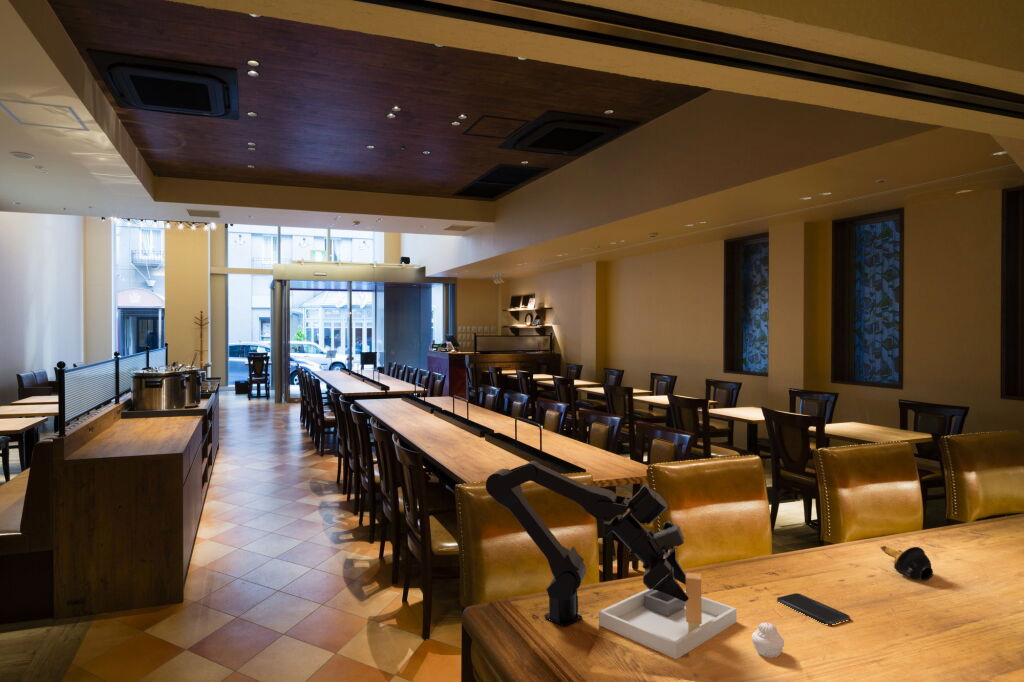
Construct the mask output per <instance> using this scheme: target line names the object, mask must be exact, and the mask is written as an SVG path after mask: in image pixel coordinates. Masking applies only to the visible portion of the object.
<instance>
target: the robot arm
mask: <svg viewBox="0 0 1024 682" xmlns="http://www.w3.org/2000/svg"><path fill="white" fill-rule="evenodd" d="M528 482H533V483H535V484H537V485H539V486H542V487H544V488H546V489H547V490H550V491H552V492H554V493H556V494H559V495H561V497H562V496H563V497H564V498H567V499H569V500H571V501H572V502H575V503H576V504H578V505H579V506H580V507H581V508H582V509H583V510H584V511H585V512H586V513H588V514H589V515H590V516H592V517H593V518H595V519H597V520H599V521H602V522H603V536H604V537H608V535H610V533H612V532H613V534H615V536H616V537H617V538H619V540H620V541H621V542H622V543H623V544H624V545H625V547H627V548H628V549H629V550H628V553H629V554H630V555H631V557H633V556H635V557H636V558H637V559H638V560H639V561H640V562H641V563H642V568H643V569H644V572H643V577H642V582H643V585H644V586H645V587H646V589H649V590H651V589H653V590H657V591H660V592H663V593H665V594H668V595H670V596H672V597H675V598H677V599H679V600H682V601H684V602H686V601H687V600H688V599H689V598H688V596H687V595H686V593H685V592H684V591H685V590H684V589H683V587H682V586H681V585H680V583H681V584H683V585H685V586H686V572H685V571H684V570H683V568H682V567H681V565H680V563H679V561H678V559H677V549H676V547H680V546H681V545H683V544H684V540H685V538H684V535H683V532H682V531H681V527H680V526H679V525H678V524H674V523H673V522H672V521H670V520H668V521H665V522H664V523H663V526H662V527H663V528H662V529H660V531H658V532H656V533H655V532H654V531H653V529H651V530H650V529H648V530H647V529H646V528H645V527H644V526H643V525H646V524H647V525H651V524H652V523H653V521H655V520H656V519H657V518H658V517H659V516H660V515H661V514H662V513H663V512H664V511H665V510H667V509H668V504H667V502H666V501H665V499H664V498H663V497H662V496H661V495H660V494H659V492H656V491H655V490H653V489H652V488H650V487H649V486H648V485H647V484H643V486H642V487H641V488H640V489H639V491H637V492H636V494H634V496H632V497H629V496H622V495H620V494H619V495H618V494H616V492H614V491H612V490H611V489H608V488H607V489H606V488H603V487H600V486H597V485H596V486H595V485H588V484H584V483H582V482H580V481H577V480H575V479H573V478H570V477H569V476H566V475H564V474H562V473H561V472H558V471H555V470H553V469H551V468H550V467H547V466H545V465H542V464H541V463H540V462H539V461H536V460H531V461H529V462H527V463H525V464H522V465H519V466H516V467H514V468H512V469H509V468H501V469H498V470H497V471H495V472H493V473H492V474H490V475H488V477H487V479H486V481H485V490H486V492H487V494H488V495H489V496H490V497H491V498H492V499H493V500H494V501H496V502H497V503H498V504H499V505H500V506H503V507H504V508H506V509H507V510H508V511H510V512H511V515H513V516H514V518H515V519H516V520H517V522H518V523H519V524H520V525H521V527H522V528H523V529H524V531H525V532H526V533H527V535H528V536H529V537H530V538H531V540H532V541H533V542H534V544H535V545H536V546H537V548H538V549H539V550H540V552H541V553H542V554H543V555H544V557H545V558H546V560H547V562H548V565H549V568H550V572H551V574H552V576H553V579H552V580H551V581H550V583H549V585H547V588H546V592H547V594H548V601H549V602H548V604H549V605H548V608H549V609H548V610H549V611H548V613H547V614H544V619H546V618H547V619H546V620H548V619H550V620H552V621H554V622H556V623H555V624H557V623H558V624H557V625H559V624H560V625H559V626H561V625H562V626H561V627H567V626H569V625H572V624H573V623H575V622H578V621H580V620H582V619H583V615H581V614H578V613H579V595H578V589H579V588H580V587H581V584H582V582H583V580H584V578H585V576H586V573H587V567H586V565H585V563H584V561H585V558H583V557H582V556H581V555H580V554H579V553H578V551H577V550H576V548H575V546H571V548H570V549H569V548H567V547H565V546H563V545H562V544H561V543H560V541H559V540H558V538H556V536H555V535H554V534H553V532H552V531H551V529H550V528H549V527H548V526H547V524H545V523H546V522H544V520H543V519H542V518H541V517H540V516H539V515H538V513H537V511H536V510H535V509H534V508H533V506H532V505H531V504H530V503H529V501H528V500H527V499H526V497H525V495H524V493H523V492H524V491H523V488H522V486H521V485H523V484H525V483H528ZM614 516H615V517H614ZM610 519H611V520H610ZM608 520H610V521H608ZM642 524H643V525H642ZM679 582H680V583H679ZM550 620H549V621H550ZM552 621H551V622H552ZM554 622H553V623H554ZM571 623H572V624H571ZM566 625H567V626H566Z"/></svg>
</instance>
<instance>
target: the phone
mask: <svg viewBox="0 0 1024 682" xmlns="http://www.w3.org/2000/svg"><path fill="white" fill-rule="evenodd" d="M777 601H778V602H780V603H782V604H784V605H786V606H788V607H790V608H792V609H794V610H793V611H795V610H796V611H795V612H797V611H798V612H797V613H799V612H801V613H803V614H805V615H807V616H809V617H811V618H813V619H815V620H817V621H816V622H818V621H819V622H818V623H820V622H821V623H820V624H822V623H824V624H828V625H832V624H836V623H839V622H843V621H846V620H850V621H851V616H850V615H849V614H847V613H844V612H842V611H840V610H838V609H835V608H833V607H832V606H829V605H826V604H824V603H823V602H820V601H817V600H815V599H813V598H811V597H809V596H806V595H803V594H801V593H791V594H785V595H783V596H779V597H777V598H776V602H777ZM778 602H777V603H778ZM780 603H779V604H780ZM782 604H781V605H782ZM784 605H783V606H784ZM786 606H785V607H786ZM788 607H787V608H788ZM790 608H789V609H790ZM792 609H791V610H792ZM801 613H800V614H801ZM803 614H802V615H803ZM805 615H804V616H805ZM807 616H806V617H807ZM809 617H808V618H809ZM811 618H810V619H811ZM813 619H812V620H813ZM815 620H814V621H815ZM824 624H823V625H824Z"/></svg>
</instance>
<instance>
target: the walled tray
mask: <svg viewBox="0 0 1024 682" xmlns="http://www.w3.org/2000/svg"><path fill="white" fill-rule="evenodd" d="M684 592H685V593H686V590H684ZM701 604H702V624H700V627H698V628H697V629H695V630H693V631H692V632H690V633H688V622H686V602H684V601H682V600H679V599H677V598H675V597H672V596H670V595H668V594H665V593H663V592H660V591H657V590H653V589H651V590H649V589H648V588H646V589H644V590H643V591H640V592H637V593H636V594H634V595H632V596H629V597H627V598H625V599H623V600H620V601H618V602H616V603H614V604H612V605H609V606H608V607H606V608H603V609H601V610H599V611H598V629H600V628H601V627H603V628H604V629H606V630H609V631H611V632H613V633H616V634H618V635H620V636H622V637H624V638H628V639H629V640H632V641H633V642H636V643H638V644H641V645H642V646H645V647H647V648H650V649H652V650H654V651H657V652H658V653H660V654H663V655H666V656H668V657H669V658H672V659H674V660H678V659H679V658H681V657H683V656H684V655H686V654H687V653H689V652H690V651H692V650H693V649H695V648H697V647H698V646H700V645H701V644H703V643H705V642H707V641H708V640H710V639H711V638H713V637H714V636H716V635H719V633H721V632H723V631H725V630H726V629H728V628H729V627H731V626H732V625H734V624H736V623H737V620H738V619H737V616H738V614H737V608H736V607H735V606H734V607H733V606H731V605H728V604H726V603H722V602H719V601H716V600H713V599H710V598H707V597H705V596H701Z"/></svg>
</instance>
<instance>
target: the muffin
mask: <svg viewBox="0 0 1024 682" xmlns="http://www.w3.org/2000/svg"><path fill="white" fill-rule="evenodd" d="M751 641H752V645H753V646H754V649H755V651H756V652H757V654H759V655H761V656H762V657H765V658H770V659H774V658H775V659H776V658H777V657H780V655H781V653H782V652H783V648H784V646H785V640H784V637H782V635H781V634H780V633H779V632H778V628H777V627H776V626H775V625H774V624H773V623H771V622H766V621H765V622H761V623H759V624H758V628H757V629H756V630H755V631H754V632H753V633H752V635H751Z"/></svg>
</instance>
